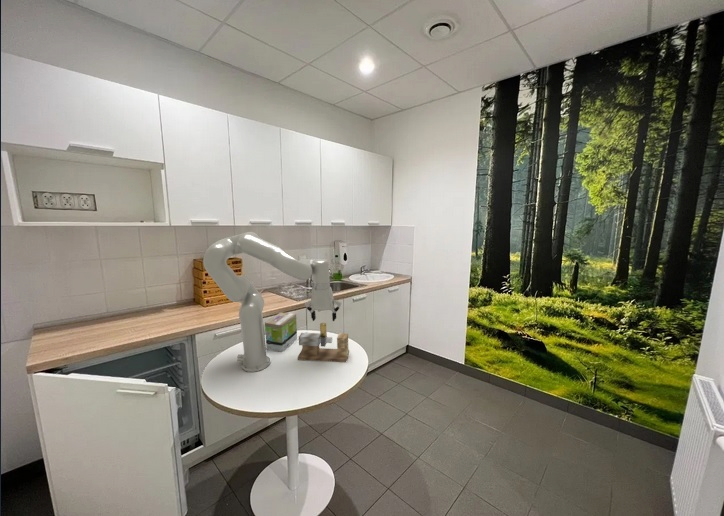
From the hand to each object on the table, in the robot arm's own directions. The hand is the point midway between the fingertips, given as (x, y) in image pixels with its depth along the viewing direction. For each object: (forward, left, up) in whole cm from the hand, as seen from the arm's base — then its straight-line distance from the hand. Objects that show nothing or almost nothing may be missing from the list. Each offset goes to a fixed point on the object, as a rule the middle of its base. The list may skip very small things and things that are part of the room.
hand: (324, 319), depth 141 cm
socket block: (+9, 0, -17) cm, 19 cm away
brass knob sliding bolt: (-4, 0, -13) cm, 13 cm away
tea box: (-26, +10, -19) cm, 33 cm away
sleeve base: (-1, 0, -19) cm, 19 cm away
